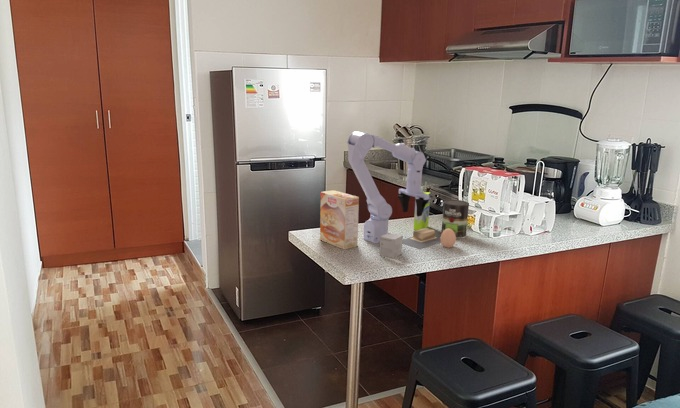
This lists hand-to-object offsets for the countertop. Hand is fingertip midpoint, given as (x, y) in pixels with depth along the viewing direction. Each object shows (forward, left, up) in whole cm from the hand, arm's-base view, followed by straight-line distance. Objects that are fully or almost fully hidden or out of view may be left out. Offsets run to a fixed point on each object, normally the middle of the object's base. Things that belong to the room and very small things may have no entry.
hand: (412, 213), depth 210 cm
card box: (+1, -6, -9) cm, 11 cm away
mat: (-2, -8, -9) cm, 13 cm away
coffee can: (+15, -10, -10) cm, 21 cm away
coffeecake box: (-30, +11, -10) cm, 33 cm away
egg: (0, -19, -10) cm, 21 cm away
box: (+12, +5, -10) cm, 16 cm away
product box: (-24, -11, -10) cm, 28 cm away
